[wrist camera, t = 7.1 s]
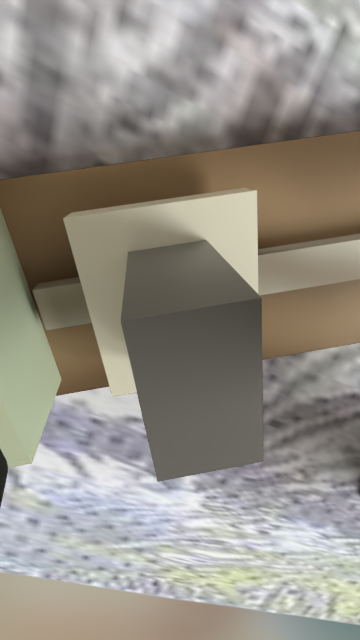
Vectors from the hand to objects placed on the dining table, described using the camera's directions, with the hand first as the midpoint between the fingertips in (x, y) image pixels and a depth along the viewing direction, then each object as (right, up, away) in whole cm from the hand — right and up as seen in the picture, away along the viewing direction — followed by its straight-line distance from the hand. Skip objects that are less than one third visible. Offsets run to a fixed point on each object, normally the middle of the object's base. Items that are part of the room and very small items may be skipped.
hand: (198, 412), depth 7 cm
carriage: (-1, +3, +7) cm, 8 cm away
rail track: (-1, +5, +10) cm, 11 cm away
